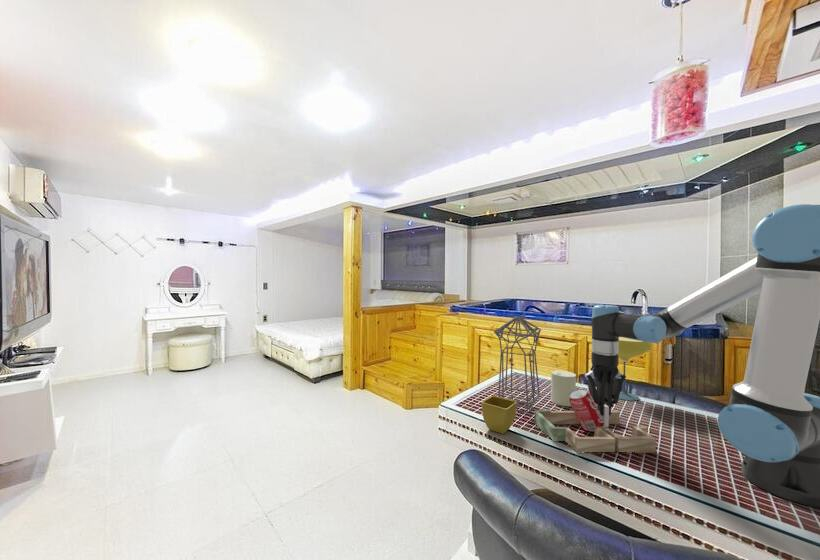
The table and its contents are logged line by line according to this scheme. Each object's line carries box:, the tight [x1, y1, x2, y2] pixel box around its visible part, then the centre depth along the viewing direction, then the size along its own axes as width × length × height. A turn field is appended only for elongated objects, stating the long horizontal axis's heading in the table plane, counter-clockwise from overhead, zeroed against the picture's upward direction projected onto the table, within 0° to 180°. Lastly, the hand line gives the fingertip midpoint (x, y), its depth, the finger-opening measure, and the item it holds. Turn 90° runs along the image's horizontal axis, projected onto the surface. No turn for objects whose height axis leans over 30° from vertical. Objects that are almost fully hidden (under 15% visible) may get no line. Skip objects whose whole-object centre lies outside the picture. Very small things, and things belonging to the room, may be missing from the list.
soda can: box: [569, 388, 604, 432], centre depth 102 cm, size 7×7×12 cm
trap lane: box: [533, 409, 657, 454], centre depth 99 cm, size 19×29×4 cm, turn 93°
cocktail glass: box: [617, 337, 652, 402], centre depth 134 cm, size 18×18×25 cm
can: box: [550, 369, 577, 407], centre depth 127 cm, size 9×9×12 cm
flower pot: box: [481, 395, 518, 434], centre depth 102 cm, size 9×9×9 cm
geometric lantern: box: [493, 316, 542, 414], centre depth 121 cm, size 16×16×35 cm
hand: (603, 424), depth 103 cm, fingers closed
